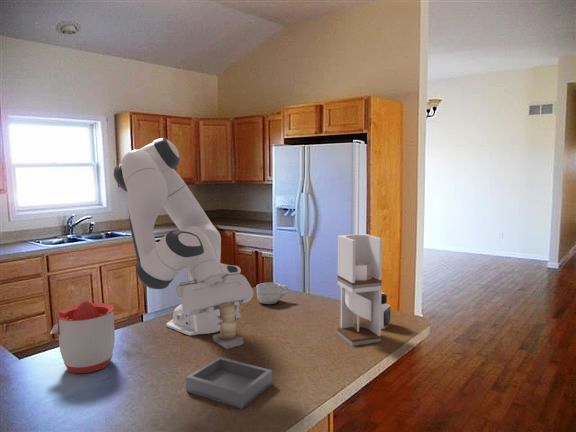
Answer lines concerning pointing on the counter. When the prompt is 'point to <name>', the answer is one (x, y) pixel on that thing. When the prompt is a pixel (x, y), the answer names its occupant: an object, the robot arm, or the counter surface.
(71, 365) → the citrus juicer
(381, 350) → the counter surface
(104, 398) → the counter surface
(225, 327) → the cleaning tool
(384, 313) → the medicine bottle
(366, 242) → the white miniature tower model
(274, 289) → the teacup
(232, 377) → the tray
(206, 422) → the counter surface
